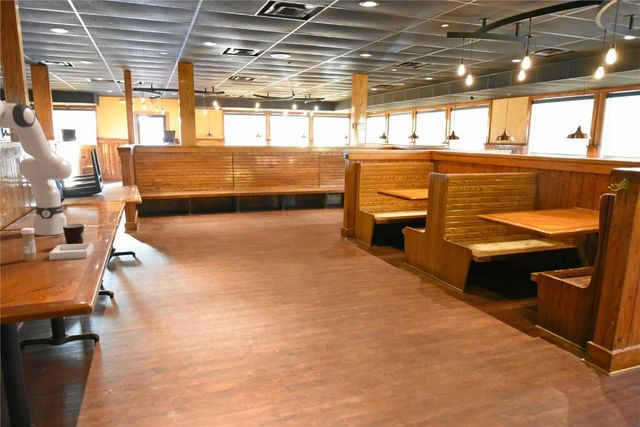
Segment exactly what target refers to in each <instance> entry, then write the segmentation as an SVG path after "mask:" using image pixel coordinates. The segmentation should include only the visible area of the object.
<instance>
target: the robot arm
mask: <svg viewBox="0 0 640 427" xmlns="http://www.w3.org/2000/svg"><path fill="white" fill-rule="evenodd" d="M0 128H1V129H14V131H15V133H16V137H17V138H18V141H19V143H20V145H21V147H22V150H23V152H25V153H26V154H27V155H29V156H31V157H29V158H24V159H22V160H21V161H20V162H19V165H18V171H19V173H20V175H21V176H22V177H24V178H25V179H26V181H27V182H28V183H29V184H30V185H31V188H32V190H33V193H34V199H35V200H34V201H35V209H34V211H35V215H34V216H33V217H32V228H34V235H36V236H54V235H61V234H64V230H63V226H64V225H68V224H69V222H68V220H67V216H66V215H65V213H64V208H63V204H62V200H61V199H62V198H61V197H62V196H61V191H60V190H59V189H58V188H57V187H55V186H54V184H53V183H52V181H61V180H65V179H68V178H70V176H71V174H72V169H73V168H72V165H71V164H70V162H69V161H68V160H66V159H64V158H63V157H61V156H60V155H59V154H58V153H57V152H55V150H54V149H53V147H51V144H50V143H49V141H48V139H47V136H46V134H45V132H44V130H43V127H42V126H41V123H40V122H39V120H38V118H37V116H36V114H35V111H34V110H33V108H31V106H29V105H27V104H24V103H12V102H11V103H10V102H6V103H5V102H4V103H3V101H2V100H1V99H0ZM4 187H5V185H4V184H3V183H0V190H3V189H4Z"/></svg>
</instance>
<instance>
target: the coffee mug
mask: <svg viewBox="0 0 640 427" xmlns="http://www.w3.org/2000/svg"><path fill="white" fill-rule="evenodd" d="M84 229H85V224H83V223H68V225H64V226H63V230H64V233H63V234H64V235H63V236H64V239H65V245H66V244H84V233H85V231H84Z"/></svg>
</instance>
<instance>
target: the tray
mask: <svg viewBox="0 0 640 427" xmlns="http://www.w3.org/2000/svg"><path fill="white" fill-rule="evenodd" d="M93 251H94V243H89V242H88V243H83V244H66V243H65V244H58V245H56V246H55V247H54V248H53V249H51V251H50V252H48V254H49V256H48V257H49V261H56V260H58V261H59V260H60V261H61V260H74V259H78V260H79V259H88V258H89V256H90V255H91V253H93Z"/></svg>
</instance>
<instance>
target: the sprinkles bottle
mask: <svg viewBox="0 0 640 427" xmlns="http://www.w3.org/2000/svg"><path fill="white" fill-rule="evenodd" d="M20 233H21V239H22V240H21V241H22V252H23V261H25V262H32V261H36V260H37V247H36V241H35V240H36V239H35V234H34V228H33V227H24V228H23V227H22V228H21V229H20Z"/></svg>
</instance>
